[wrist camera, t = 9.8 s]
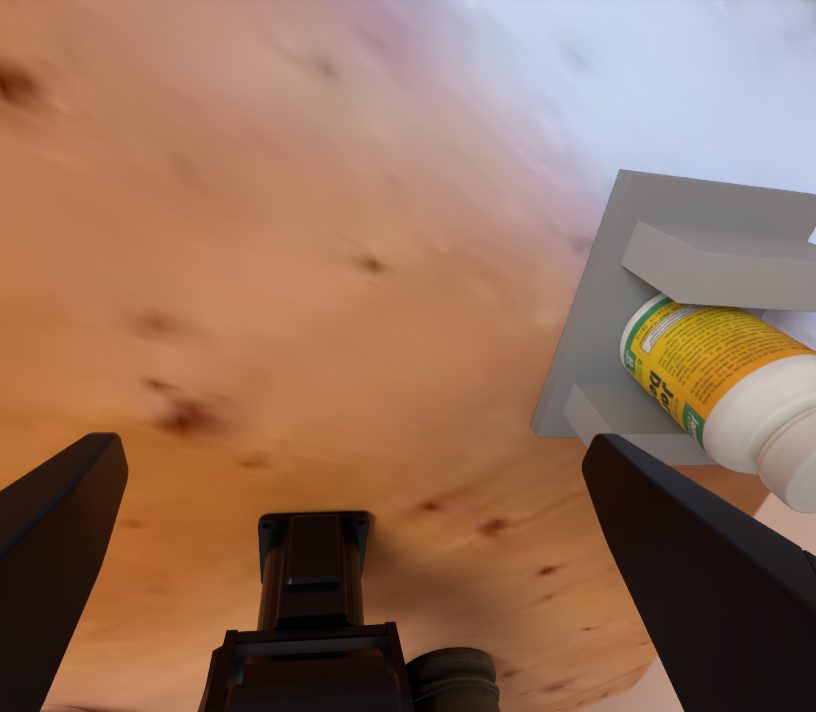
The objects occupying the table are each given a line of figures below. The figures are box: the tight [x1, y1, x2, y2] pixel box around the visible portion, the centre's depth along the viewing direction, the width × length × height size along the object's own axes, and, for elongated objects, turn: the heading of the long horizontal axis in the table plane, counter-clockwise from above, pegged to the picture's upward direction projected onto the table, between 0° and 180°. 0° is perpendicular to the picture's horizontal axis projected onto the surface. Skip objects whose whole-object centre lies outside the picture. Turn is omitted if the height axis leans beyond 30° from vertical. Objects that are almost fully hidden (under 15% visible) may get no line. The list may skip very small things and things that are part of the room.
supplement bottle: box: [620, 293, 816, 513], centre depth 19 cm, size 5×5×10 cm
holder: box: [530, 169, 816, 466], centre depth 22 cm, size 14×10×5 cm
